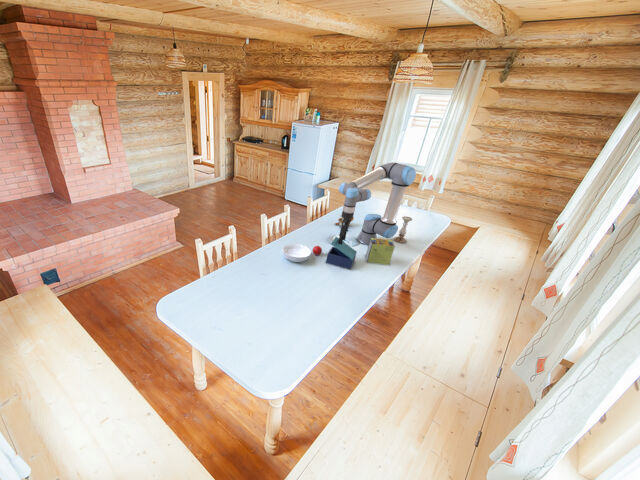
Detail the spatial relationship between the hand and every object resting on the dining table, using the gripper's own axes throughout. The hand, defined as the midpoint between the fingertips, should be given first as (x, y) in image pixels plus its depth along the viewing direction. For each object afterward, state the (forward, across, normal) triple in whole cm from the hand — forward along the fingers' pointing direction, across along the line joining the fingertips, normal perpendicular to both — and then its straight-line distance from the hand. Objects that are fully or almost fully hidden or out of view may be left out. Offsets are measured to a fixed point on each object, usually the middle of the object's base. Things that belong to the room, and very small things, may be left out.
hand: (341, 241), depth 224 cm
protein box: (+16, -18, +25) cm, 35 cm away
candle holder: (+16, -63, +36) cm, 74 cm away
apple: (+13, -2, -16) cm, 21 cm away
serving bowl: (+17, +12, -28) cm, 35 cm away
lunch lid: (+4, 0, +2) cm, 5 cm away
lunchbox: (+16, 0, +2) cm, 16 cm away
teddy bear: (+17, -68, -12) cm, 71 cm away
